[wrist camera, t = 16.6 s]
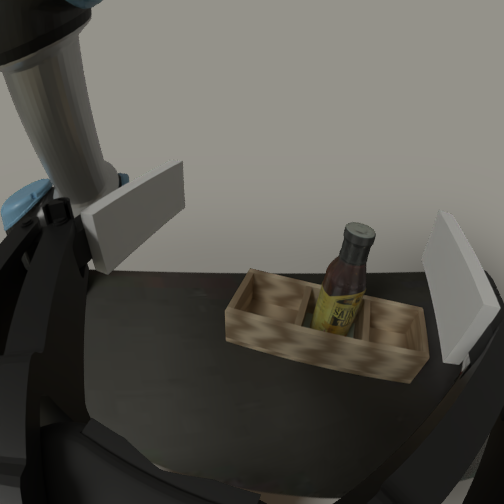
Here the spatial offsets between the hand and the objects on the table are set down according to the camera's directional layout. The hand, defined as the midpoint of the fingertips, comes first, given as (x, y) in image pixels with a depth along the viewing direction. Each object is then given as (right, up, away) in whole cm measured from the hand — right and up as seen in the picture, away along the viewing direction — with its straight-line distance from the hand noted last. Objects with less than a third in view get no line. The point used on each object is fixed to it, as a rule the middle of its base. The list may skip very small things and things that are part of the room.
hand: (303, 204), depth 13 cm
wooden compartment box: (+10, -17, +32) cm, 38 cm away
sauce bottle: (+10, -16, +32) cm, 37 cm away
